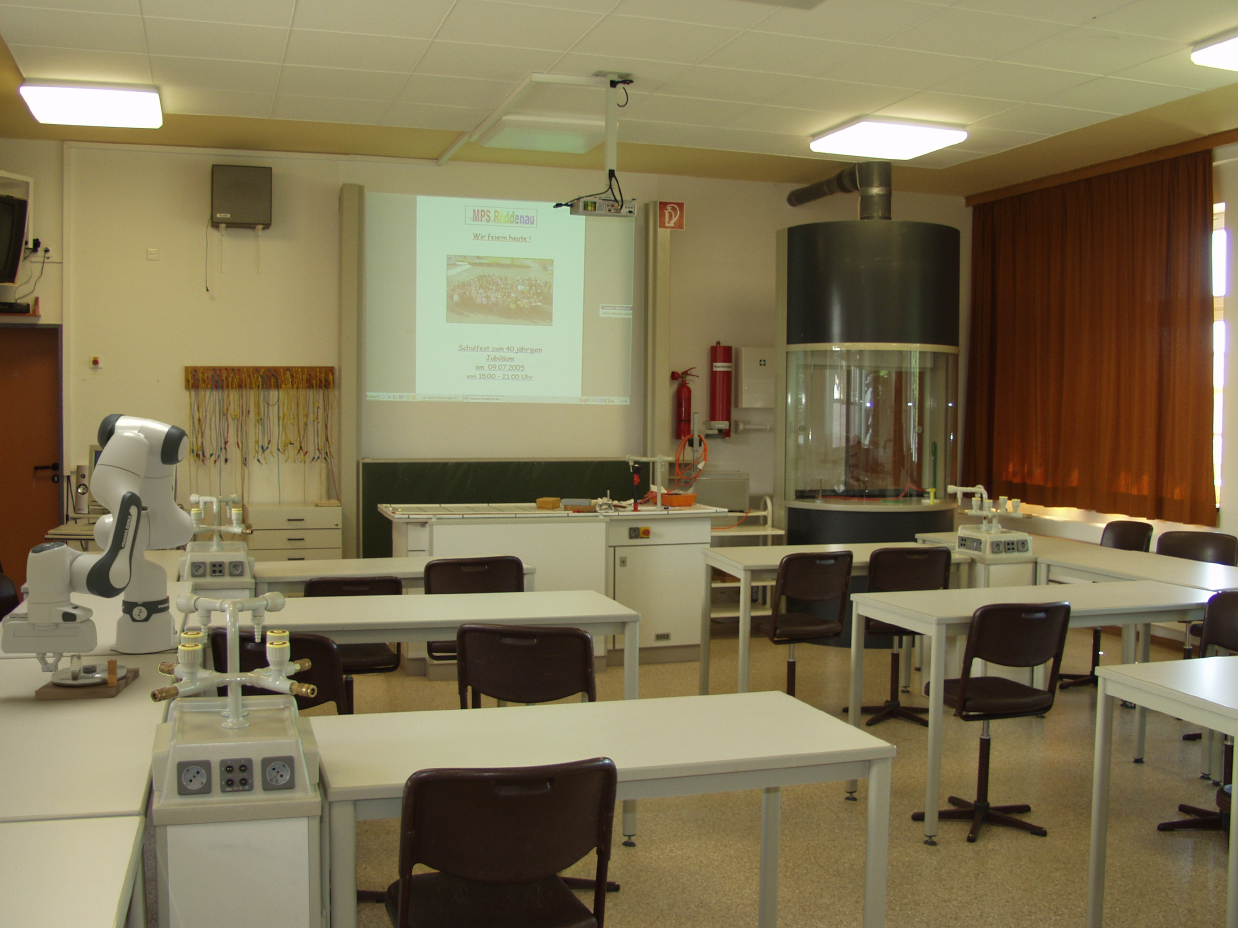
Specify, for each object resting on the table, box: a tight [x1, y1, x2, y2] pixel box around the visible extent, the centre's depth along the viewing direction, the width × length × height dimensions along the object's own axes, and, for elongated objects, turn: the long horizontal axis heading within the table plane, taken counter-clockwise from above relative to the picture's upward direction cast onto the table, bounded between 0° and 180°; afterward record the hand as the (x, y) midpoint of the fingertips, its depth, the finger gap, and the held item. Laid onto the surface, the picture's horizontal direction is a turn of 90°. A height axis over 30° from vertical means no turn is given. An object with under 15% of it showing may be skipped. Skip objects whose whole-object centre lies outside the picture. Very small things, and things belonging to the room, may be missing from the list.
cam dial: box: [51, 653, 128, 687], centre depth 243 cm, size 16×16×7 cm
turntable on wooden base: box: [34, 659, 141, 701], centre depth 243 cm, size 20×17×8 cm
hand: (49, 671), depth 235 cm, fingers closed
